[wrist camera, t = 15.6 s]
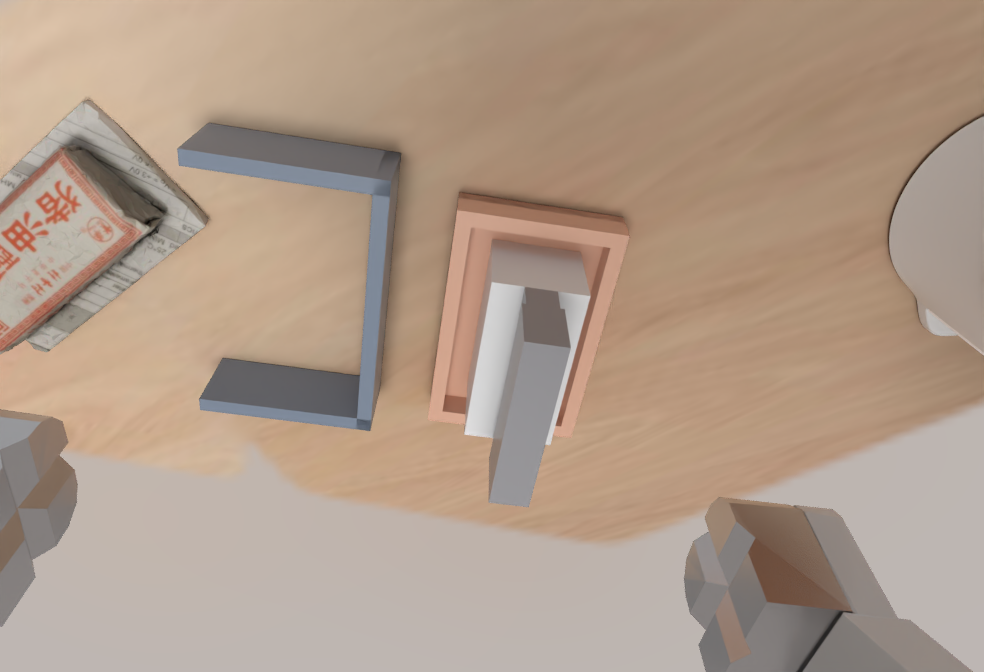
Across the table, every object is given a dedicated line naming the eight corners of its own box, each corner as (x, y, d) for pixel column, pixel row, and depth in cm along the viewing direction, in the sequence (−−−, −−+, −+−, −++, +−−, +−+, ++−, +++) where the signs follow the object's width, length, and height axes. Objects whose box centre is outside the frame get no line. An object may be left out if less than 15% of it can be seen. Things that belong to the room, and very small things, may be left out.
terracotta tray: (622, 217, 47) (630, 236, 44) (567, 413, 56) (571, 438, 53) (459, 192, 46) (457, 210, 43) (430, 395, 55) (427, 420, 52)
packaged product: (17, 383, 49) (-120, 281, 45) (54, 345, 53) (-68, 248, 49) (189, 247, 43) (50, 115, 39) (216, 216, 47) (93, 93, 43)
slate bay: (401, 153, 44) (391, 181, 40) (379, 388, 55) (370, 430, 50) (208, 122, 43) (177, 148, 39) (223, 368, 54) (200, 409, 49)
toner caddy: (580, 251, 47) (603, 352, 37) (545, 392, 53) (556, 510, 43) (492, 239, 46) (491, 337, 36) (467, 382, 53) (460, 499, 43)
